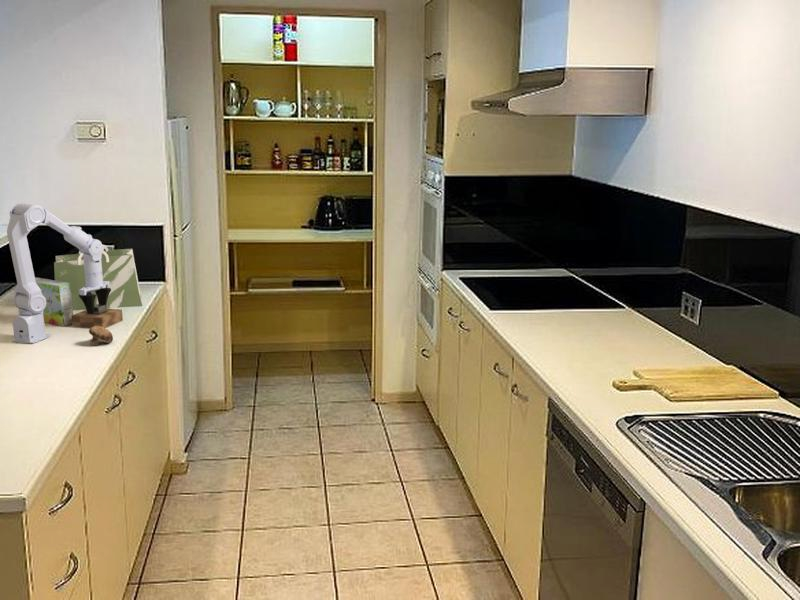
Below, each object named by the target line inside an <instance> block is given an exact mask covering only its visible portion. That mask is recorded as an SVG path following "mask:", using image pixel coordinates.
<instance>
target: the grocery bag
mask: <svg viewBox="0 0 800 600" xmlns="http://www.w3.org/2000/svg"><path fill="white" fill-rule="evenodd" d="M102 246H104V251H103V253H102V258H101V263H102V275H103V281H109V284H110V286H109V287H107V288H111V291H110V293H109V296H108V299H107V304H106V309H118V308H130V307H131V308H133V307H143V304H142V294H141V289H140V283H139V279H138V273H137V268H136V263H135V261H136V260H135V255H134V250H133V248H125V249H124V248H123V249H119V248H118V249H110V250H109V248H108V247H107V245H105V244H102ZM53 264H54V265H53V266H54V267H53V268H54V280H55V281H61V282H68V283H70V286H71V296H72V306H73V311H84V310H86V307H85V305H84V303H83V301H82V300H81V298H80V297H79V294H80V292H79V289H82V288H83V287H84V286H86V281H85V270H84V259H83V253H81V252H80V251H78V253H75V254H73V253H72V254H62V255H55V262H53ZM91 293H92V294H95V295H96V292H95V291H93V292H91ZM94 304H98V298H97V295H96V297H95V302H94Z"/></svg>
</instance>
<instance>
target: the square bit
mask: <svg viewBox="0 0 800 600" xmlns="http://www.w3.org/2000/svg"><path fill="white" fill-rule="evenodd" d="M105 312H106V308H105V305H99V304H94V313H93V314H92V315H100V314H103V313H105Z"/></svg>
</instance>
